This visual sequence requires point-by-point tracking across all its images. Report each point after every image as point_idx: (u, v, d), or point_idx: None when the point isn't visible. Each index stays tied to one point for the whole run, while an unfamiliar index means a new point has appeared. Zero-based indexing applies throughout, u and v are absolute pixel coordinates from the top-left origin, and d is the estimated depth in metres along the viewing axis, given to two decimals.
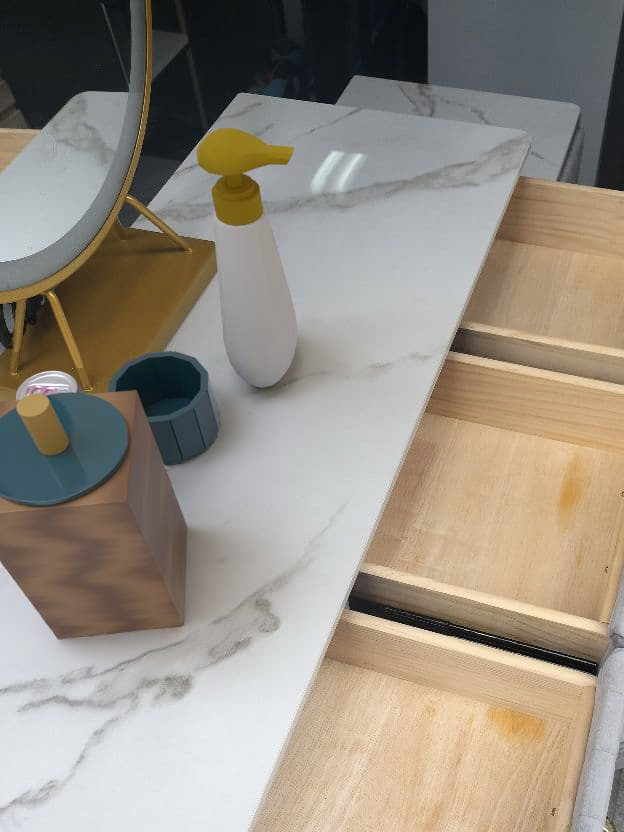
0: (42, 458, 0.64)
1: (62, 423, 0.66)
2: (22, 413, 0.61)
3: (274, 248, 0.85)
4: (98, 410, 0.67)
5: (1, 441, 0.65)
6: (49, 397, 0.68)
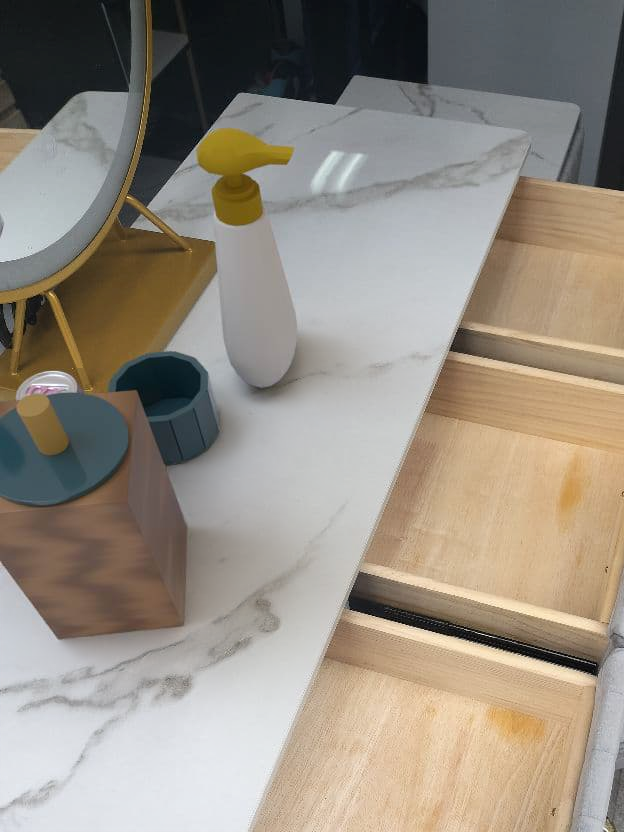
0: (42, 458, 0.64)
1: (62, 423, 0.66)
2: (22, 413, 0.61)
3: (274, 248, 0.85)
4: (98, 410, 0.67)
5: (1, 441, 0.65)
6: (49, 397, 0.68)
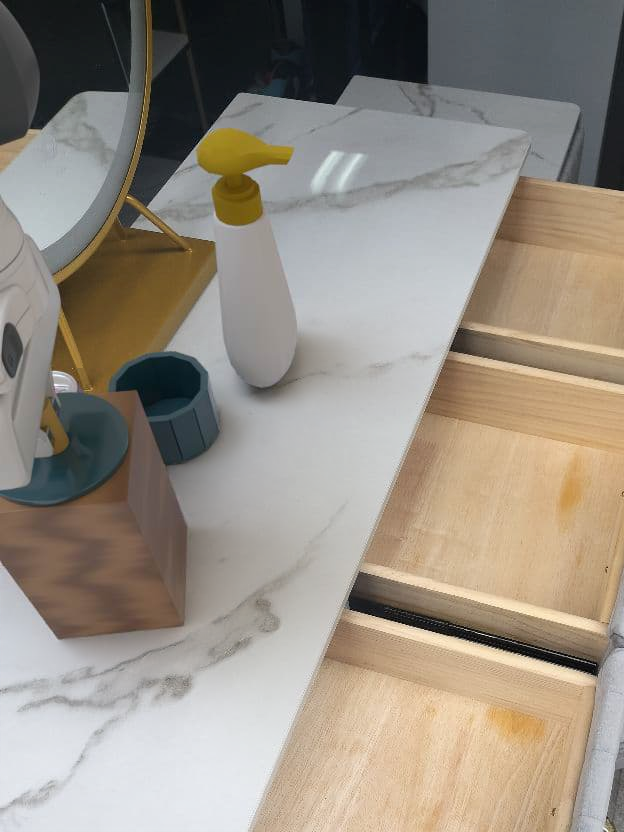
0: (42, 458, 0.64)
1: (62, 423, 0.66)
2: None
3: (274, 248, 0.85)
4: (98, 410, 0.67)
5: None
6: None
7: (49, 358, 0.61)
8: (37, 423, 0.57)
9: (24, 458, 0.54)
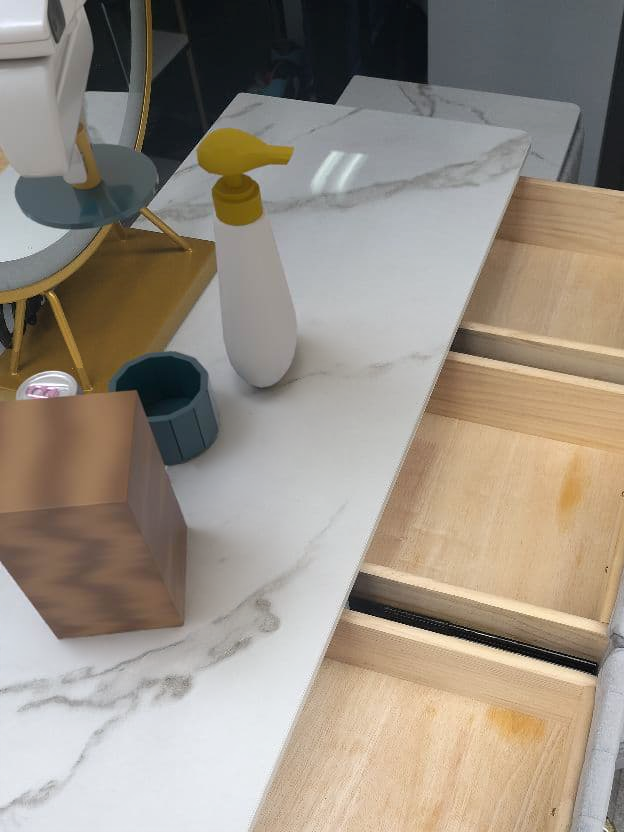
0: (76, 191, 0.67)
1: None
2: None
3: (274, 248, 0.85)
4: (128, 156, 0.70)
5: (36, 179, 0.68)
6: None
7: (84, 81, 0.64)
8: (75, 126, 0.60)
9: (64, 143, 0.57)
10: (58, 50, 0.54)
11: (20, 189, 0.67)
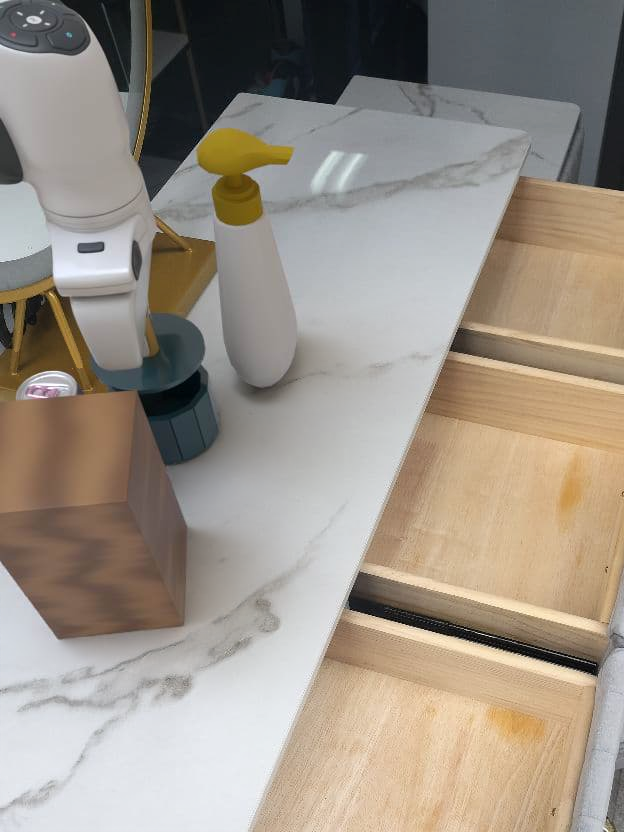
0: None
1: None
2: None
3: (274, 248, 0.85)
4: (180, 325, 0.86)
5: None
6: None
7: (148, 279, 0.79)
8: (144, 324, 0.76)
9: None
10: None
11: None
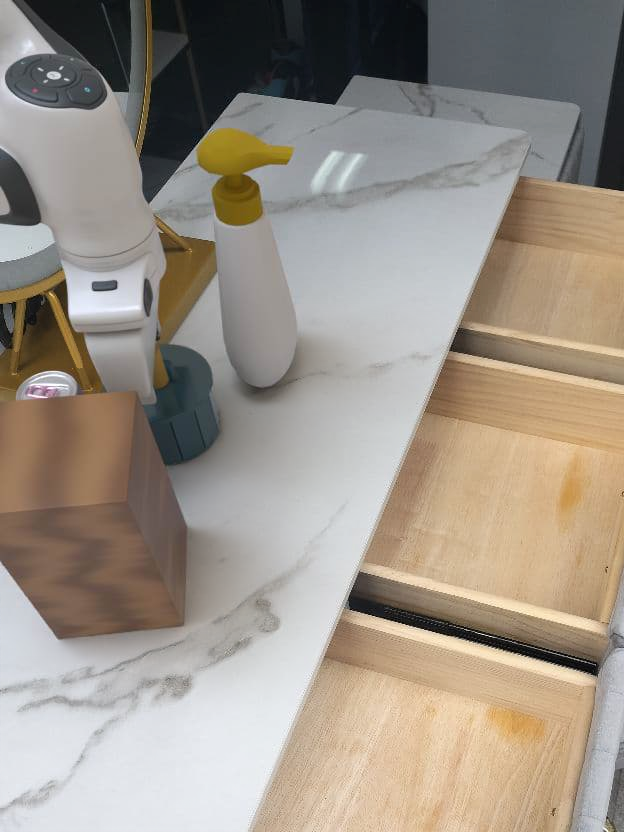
0: None
1: None
2: None
3: (274, 248, 0.85)
4: (188, 357, 0.89)
5: None
6: None
7: (157, 310, 0.83)
8: (153, 355, 0.79)
9: None
10: None
11: None
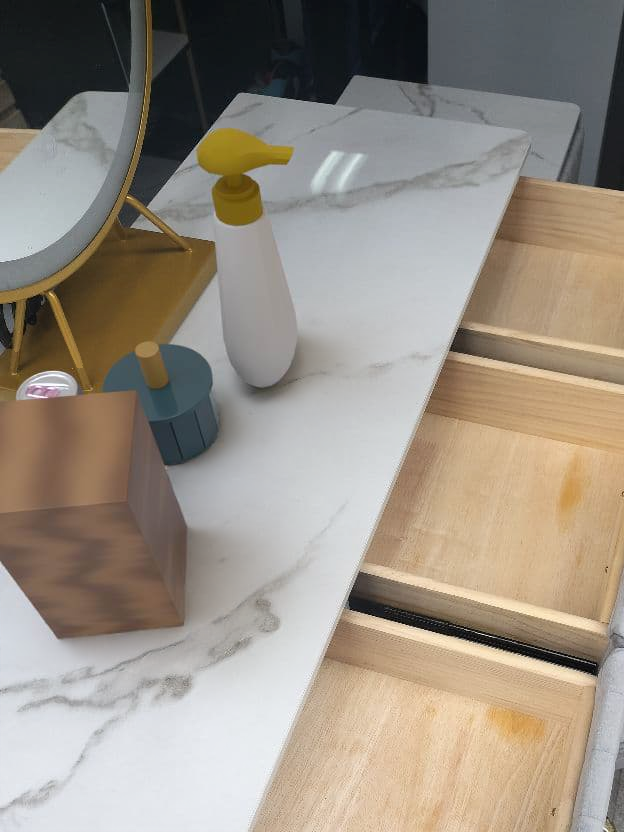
0: (150, 390, 0.86)
1: None
2: (139, 355, 0.83)
3: (274, 248, 0.85)
4: (188, 357, 0.89)
5: (118, 379, 0.88)
6: None
7: None
8: None
9: None
10: None
11: (107, 388, 0.87)
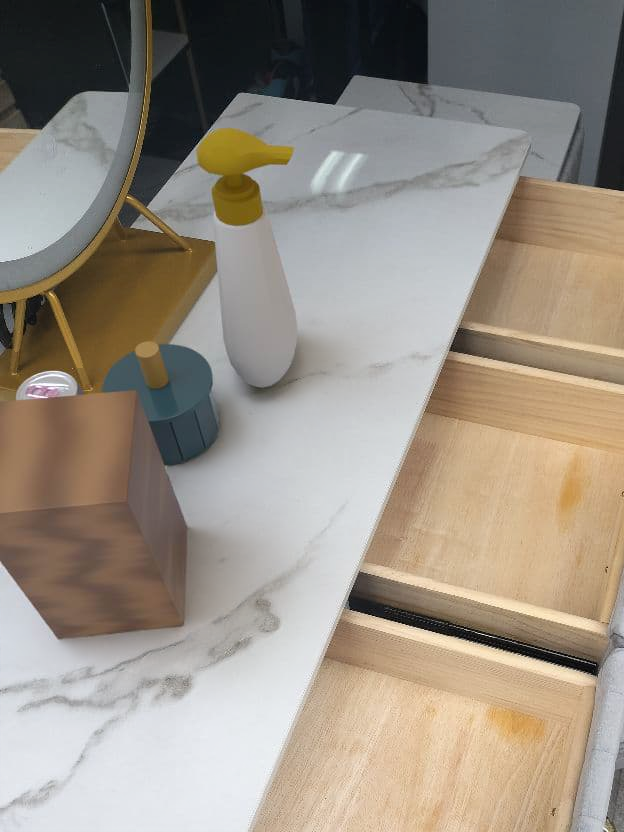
0: (150, 390, 0.86)
1: None
2: (139, 355, 0.83)
3: (274, 248, 0.85)
4: (188, 357, 0.89)
5: (118, 379, 0.88)
6: None
7: None
8: None
9: None
10: None
11: (107, 388, 0.87)
